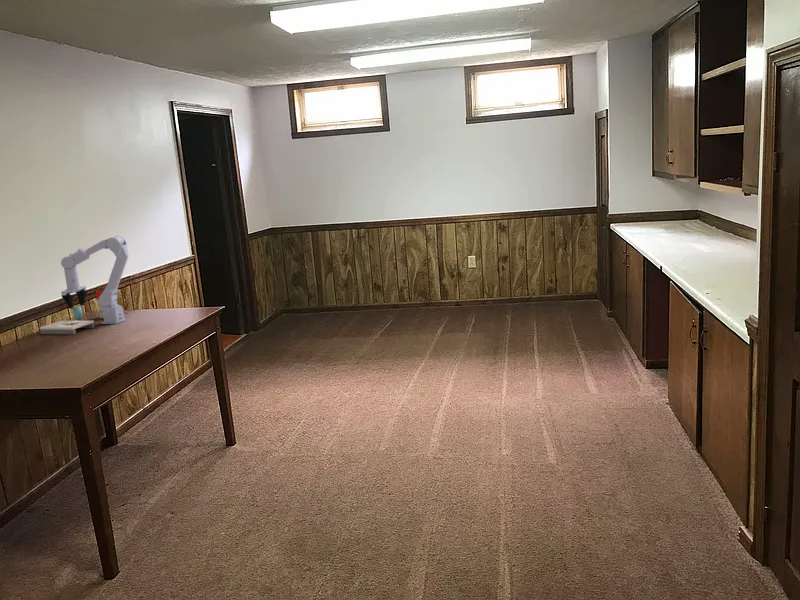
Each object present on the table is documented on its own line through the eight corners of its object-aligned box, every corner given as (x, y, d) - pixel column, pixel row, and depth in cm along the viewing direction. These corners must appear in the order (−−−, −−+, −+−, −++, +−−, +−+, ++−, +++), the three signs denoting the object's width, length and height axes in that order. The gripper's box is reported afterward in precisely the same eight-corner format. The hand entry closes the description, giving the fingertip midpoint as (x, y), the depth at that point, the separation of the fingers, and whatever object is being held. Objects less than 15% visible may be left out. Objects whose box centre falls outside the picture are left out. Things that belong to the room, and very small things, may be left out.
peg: (86, 324, 349) (83, 306, 347) (80, 326, 345) (77, 307, 343) (79, 324, 350) (76, 306, 348) (73, 326, 346) (70, 307, 344)
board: (94, 327, 339) (93, 320, 339) (73, 334, 326) (72, 327, 326) (62, 326, 346) (61, 320, 345) (40, 333, 333) (39, 327, 332)
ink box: (119, 315, 365) (115, 288, 362) (114, 317, 360) (110, 290, 357) (104, 316, 366) (100, 289, 363) (99, 318, 361) (95, 291, 358)
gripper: (76, 277, 351) (80, 303, 353) (54, 282, 337) (59, 309, 340) (87, 277, 349) (92, 303, 351) (66, 282, 335) (70, 309, 338)
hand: (76, 306), depth 345 cm, fingers open, 7 cm apart
